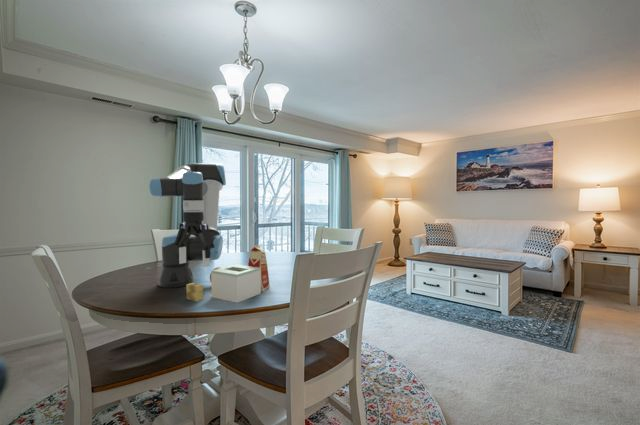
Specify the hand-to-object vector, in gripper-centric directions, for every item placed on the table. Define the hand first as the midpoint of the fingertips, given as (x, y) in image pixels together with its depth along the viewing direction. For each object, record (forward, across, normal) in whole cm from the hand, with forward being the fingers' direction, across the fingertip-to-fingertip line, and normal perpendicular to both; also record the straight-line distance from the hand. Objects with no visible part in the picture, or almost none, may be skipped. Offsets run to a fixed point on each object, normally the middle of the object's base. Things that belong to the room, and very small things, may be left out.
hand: (194, 264), depth 132 cm
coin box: (+14, +11, +12) cm, 21 cm away
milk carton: (+14, +11, +25) cm, 31 cm away
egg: (+14, -7, +19) cm, 25 cm away
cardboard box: (+14, 0, 0) cm, 14 cm away
